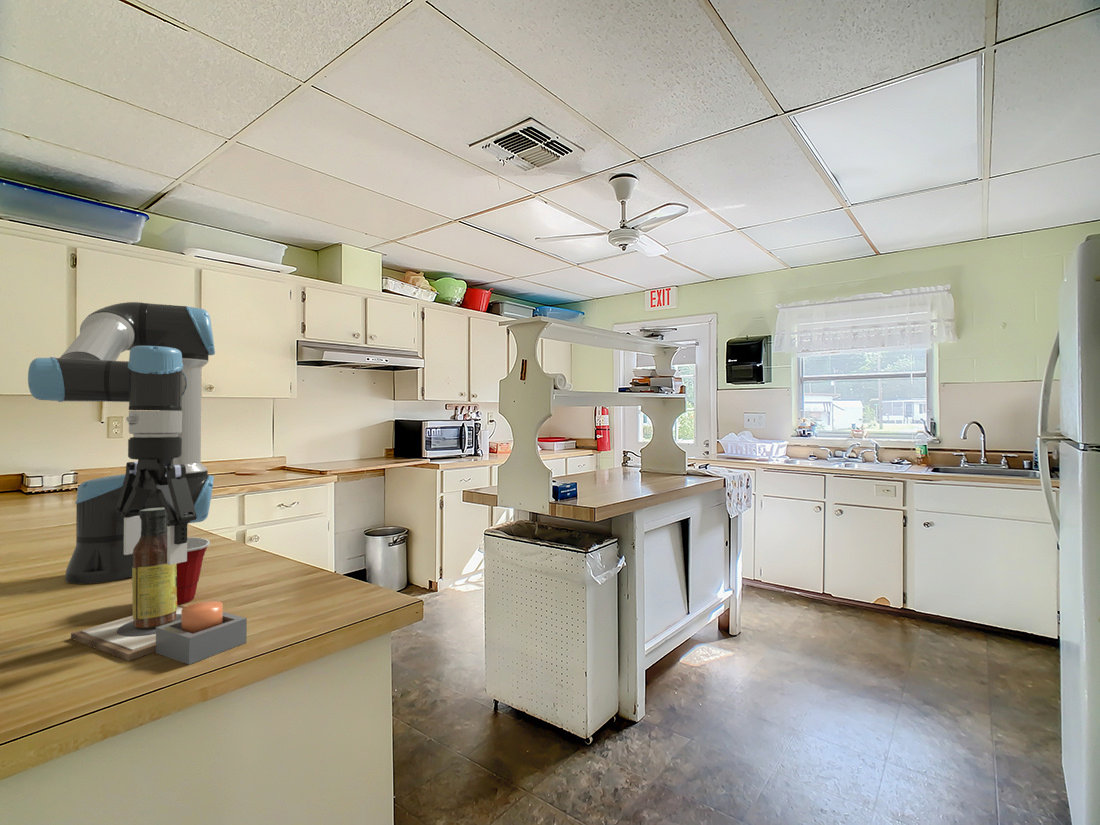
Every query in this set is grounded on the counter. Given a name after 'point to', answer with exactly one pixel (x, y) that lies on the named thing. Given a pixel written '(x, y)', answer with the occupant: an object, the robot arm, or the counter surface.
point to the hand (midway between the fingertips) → (154, 558)
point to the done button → (201, 616)
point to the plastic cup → (190, 569)
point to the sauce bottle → (153, 573)
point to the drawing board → (121, 637)
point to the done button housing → (200, 639)
